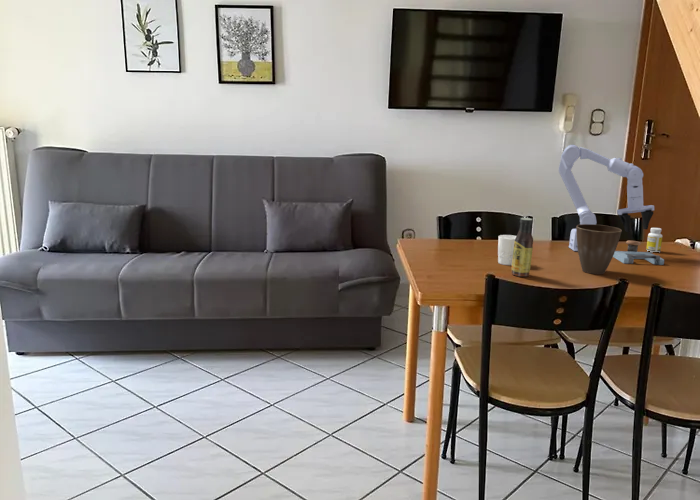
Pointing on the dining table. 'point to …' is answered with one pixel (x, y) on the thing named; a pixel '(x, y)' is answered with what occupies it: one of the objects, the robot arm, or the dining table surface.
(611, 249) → the plant pot
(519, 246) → the sauce bottle
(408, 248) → the dining table surface
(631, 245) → the spool
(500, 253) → the white cup
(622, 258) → the notched board
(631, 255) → the hook bar
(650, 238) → the supplement bottle
